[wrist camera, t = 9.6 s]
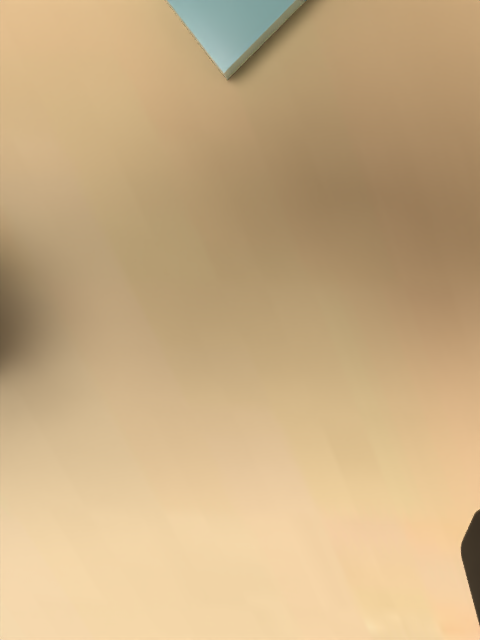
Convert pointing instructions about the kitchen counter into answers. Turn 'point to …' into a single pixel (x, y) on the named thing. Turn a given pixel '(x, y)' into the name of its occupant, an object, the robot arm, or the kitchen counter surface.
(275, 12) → the ceramic plinth
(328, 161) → the kitchen counter surface
